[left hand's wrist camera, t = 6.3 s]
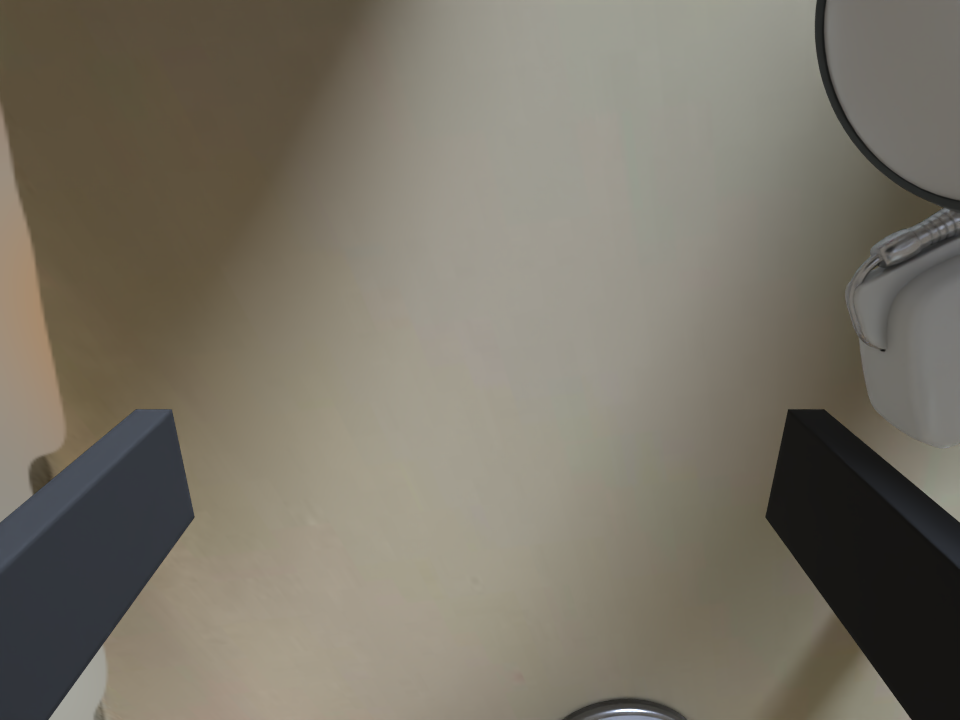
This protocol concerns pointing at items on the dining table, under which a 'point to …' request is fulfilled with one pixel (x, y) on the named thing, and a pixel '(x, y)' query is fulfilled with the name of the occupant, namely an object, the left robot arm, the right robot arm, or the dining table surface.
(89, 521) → the left robot arm
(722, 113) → the dining table surface
